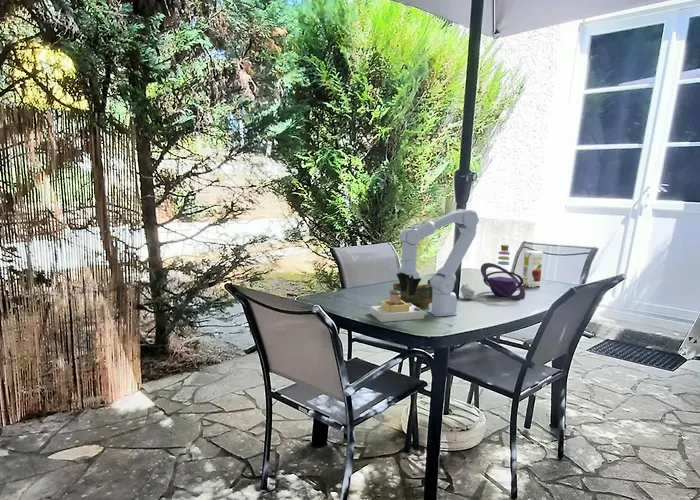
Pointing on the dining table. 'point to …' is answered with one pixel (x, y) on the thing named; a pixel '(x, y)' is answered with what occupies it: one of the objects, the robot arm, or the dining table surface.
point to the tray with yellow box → (396, 312)
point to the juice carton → (532, 268)
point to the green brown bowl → (416, 295)
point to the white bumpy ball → (467, 291)
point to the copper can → (395, 297)
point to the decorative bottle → (503, 279)
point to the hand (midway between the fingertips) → (407, 293)
